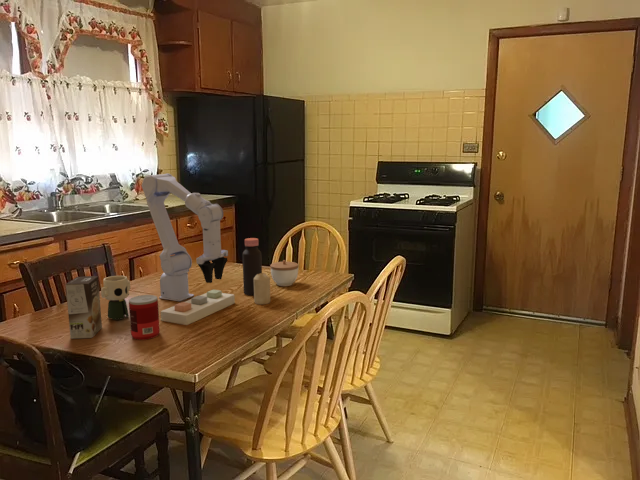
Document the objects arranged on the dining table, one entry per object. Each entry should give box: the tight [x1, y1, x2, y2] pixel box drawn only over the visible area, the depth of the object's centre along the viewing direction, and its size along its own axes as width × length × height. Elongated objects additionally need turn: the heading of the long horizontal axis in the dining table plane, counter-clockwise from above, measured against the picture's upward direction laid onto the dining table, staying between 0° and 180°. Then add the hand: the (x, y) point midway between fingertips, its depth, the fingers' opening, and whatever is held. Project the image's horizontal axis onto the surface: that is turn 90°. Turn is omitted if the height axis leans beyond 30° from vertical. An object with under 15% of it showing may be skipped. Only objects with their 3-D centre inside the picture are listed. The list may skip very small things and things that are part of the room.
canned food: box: [128, 294, 161, 341], centre depth 159 cm, size 8×8×11 cm
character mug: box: [100, 275, 131, 320], centre depth 175 cm, size 11×7×13 cm, turn 150°
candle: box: [253, 272, 271, 305], centre depth 191 cm, size 6×6×10 cm
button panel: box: [160, 292, 236, 326], centre depth 182 cm, size 10×25×3 cm, turn 153°
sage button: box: [206, 289, 223, 299], centre depth 188 cm, size 4×4×3 cm
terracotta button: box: [173, 301, 191, 312], centre depth 174 cm, size 4×4×3 cm
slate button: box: [190, 295, 207, 305], centre depth 181 cm, size 4×4×3 cm
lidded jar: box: [269, 259, 299, 287], centre depth 214 cm, size 11×11×9 cm
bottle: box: [242, 237, 263, 297], centre depth 201 cm, size 7×7×20 cm
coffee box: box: [65, 275, 103, 339], centre depth 161 cm, size 9×6×16 cm
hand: (213, 280), depth 187 cm, fingers open, 5 cm apart
